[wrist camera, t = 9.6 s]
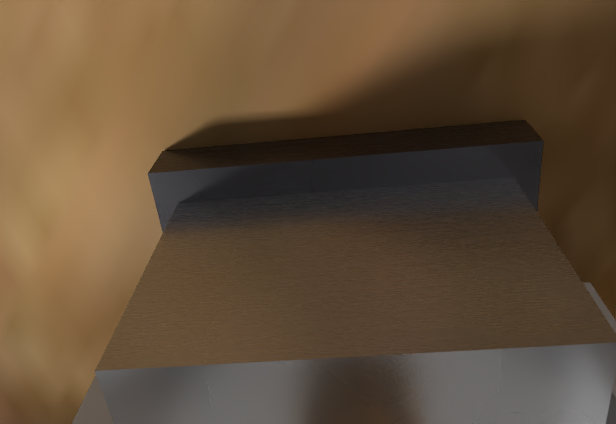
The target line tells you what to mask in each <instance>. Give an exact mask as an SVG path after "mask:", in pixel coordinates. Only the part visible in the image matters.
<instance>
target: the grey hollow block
mask: <svg viewBox="0 0 616 424" xmlns="http://www.w3.org/2000/svg"><path fill="white" fill-rule="evenodd" d="M95 373H96V376H97V379H98V381H99V384H100V387H101V389H102V392H103V395H104V398H105V400H106V403H107V406H108V409H109V411H110V414H111V417H112V420H113V422H114V424H606V419H607V414H608V409H609V404H610V399H611V394H612V388H613V383H614V378H615V373H616V333H615V332H614V330H613V329H612V327H611V325H610V324H609V322H608V321H607V319H606V318H605V316H604V315H603V313H602V312H601V310H600V309H599V307H598V305H597V304H596V302H595V301H594V299H593V298H592V296H591V295H590V293H589V292H588V290H587V289H586V287H585V285H584V284H583V282H582V281H581V279H580V278H579V276H578V275H577V273H576V272H575V270H574V268H573V267H572V265H571V264H570V262H569V261H568V259H567V258H566V256H565V255H564V253H563V252H562V250H561V248H560V247H559V245H558V244H557V242H556V241H555V239H554V238H553V236H552V235H551V233H550V231H549V230H548V228H547V227H546V225H545V224H544V222H543V221H542V219H541V218H540V216H539V215H538V213H537V211H536V210H535V208H534V207H533V205H532V204H531V202H530V201H529V199H528V198H527V196H526V195H525V193H524V191H523V190H522V188H521V187H520V185H519V184H518V182H517V181H516V179H515V178H514V177H510V178H497V179H484V180H471V181H458V182H445V183H432V184H419V185H406V186H393V187H380V188H367V189H354V190H341V191H328V192H315V193H302V194H289V195H276V196H263V197H250V198H237V199H224V200H211V201H198V202H185V203H178V204H177V206H176V208H175V210H174V212H173V214H172V216H171V218H170V220H169V222H168V224H167V226H166V228H165V230H164V232H163V234H162V236H161V238H160V240H159V242H158V244H157V246H156V248H155V250H154V252H153V254H152V256H151V258H150V260H149V263H148V265H147V267H146V269H145V271H144V273H143V275H142V277H141V279H140V281H139V283H138V285H137V287H136V289H135V291H134V293H133V295H132V297H131V299H130V301H129V303H128V305H127V307H126V309H125V311H124V313H123V315H122V317H121V319H120V321H119V323H118V325H117V327H116V329H115V331H114V333H113V335H112V337H111V339H110V341H109V343H108V345H107V347H106V349H105V351H104V353H103V355H102V357H101V359H100V361H99V363H98V365H97V367H96V370H95Z"/></svg>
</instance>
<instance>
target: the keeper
mask: <svg viewBox="0 0 616 424" xmlns="http://www.w3.org/2000/svg"><path fill="white" fill-rule="evenodd" d="M542 151H543V140H542V138H541V137H540V136H539V135H538V134H537V133H536V132H535V130H534V129H533V128H532V127H531V126H530V125H529V123H528V122H527V121H526V120H521V121H509V122H498V123H486V124H474V125H463V126H451V127H439V128H428V129H416V130H404V131H393V132H381V133H369V134H358V135H346V136H334V137H323V138H311V139H299V140H288V141H276V142H264V143H253V144H241V145H229V146H218V147H206V148H194V149H183V150H171V151H162V153H161V154H160V156H159V157H158V159H157V160H156V162H155V163H154V165H153V166H152V168H151V169H150V171H149V172H148V176H149V180H150V184H151V188H152V192H153V196H154V200H155V203H156V207H157V211H158V215H159V219H160V223H161V227H162V231H163V232H164V230H165V228H166V226H167V224H168V222H169V220H170V218H171V216H172V214H173V212H174V210H175V208H176V206H177V204H178V203H185V202H198V201H211V200H224V199H237V198H250V197H263V196H276V195H289V194H302V193H315V192H328V191H341V190H354V189H367V188H380V187H393V186H406V185H419V184H432V183H445V182H458V181H471V180H484V179H497V178H510V177H514V178H515V179H516V181H517V182H518V184H519V185H520V187H521V188H522V190H523V191H524V193H525V195H526V196H527V198H528V199H529V201H530V202H531V204H532V205H533V207H534V208H535V210H536V211H537V206H538V195H539V184H540V173H541V162H542Z"/></svg>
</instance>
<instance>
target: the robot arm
mask: <svg viewBox="0 0 616 424" xmlns="http://www.w3.org/2000/svg"><path fill="white" fill-rule="evenodd" d="M583 284H584V285H585V287H586V289H587V290H588V292H589V293H590V295H591V296H592V298H593V299H594V301H595V302H596V304H597V305H598V307H599V309H600V310H601V312H602V313H603V315H604V316H605V318H606V319H607V321H608V322H609V324H610V325H611V327H612V329H613V330H614V332H615V333H616V321H615V319H614V318H613V316H612V315H611V313H610V312H609V310H608V309H607V307H606V306H605V304H604V303H603V301H602V300H601V298H600V297H599V295H598V294H597V292H596V291H595V289H594V288H593V286H592V285H591V283H590V282H588V283H583ZM72 424H114V422H113V420H112V417H111V414H110V411H109V409H108V406H107V403H106V400H105V398H104V395H103V392H102V389H101V387H100V384H99V381H98V379H97V376H95V378H94V380H93V382H92V384H91V386H90V388H89V390H88V392H87V394H86V396H85V398H84V400H83V402H82V404H81V406H80V408H79V410H78V412H77V414H76V416H75V418H74V420H73V422H72ZM606 424H616V373H615V378H614V383H613V388H612V394H611V399H610V404H609V409H608V414H607V419H606Z"/></svg>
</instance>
